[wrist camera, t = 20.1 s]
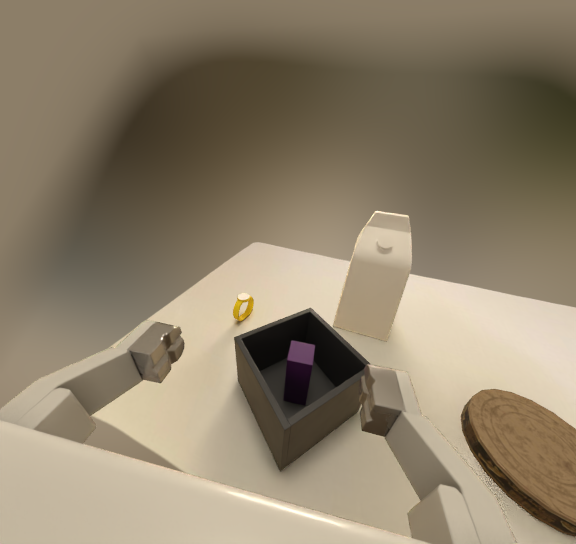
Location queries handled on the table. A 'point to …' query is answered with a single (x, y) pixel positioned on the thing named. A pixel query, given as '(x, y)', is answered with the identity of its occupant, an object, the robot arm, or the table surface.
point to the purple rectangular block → (298, 372)
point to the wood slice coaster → (525, 454)
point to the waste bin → (322, 388)
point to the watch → (241, 298)
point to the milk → (376, 276)
